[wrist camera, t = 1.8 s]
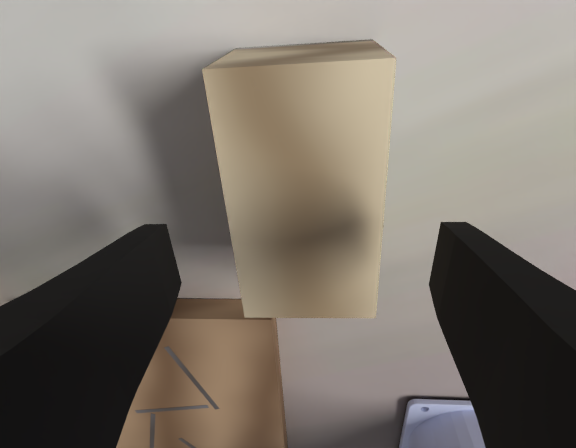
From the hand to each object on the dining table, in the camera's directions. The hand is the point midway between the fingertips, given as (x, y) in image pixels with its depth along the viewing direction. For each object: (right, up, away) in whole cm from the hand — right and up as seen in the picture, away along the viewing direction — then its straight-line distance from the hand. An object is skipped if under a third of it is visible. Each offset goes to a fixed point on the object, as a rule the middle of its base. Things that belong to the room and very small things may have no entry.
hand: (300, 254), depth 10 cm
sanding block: (0, +4, +6) cm, 7 cm away
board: (-8, -12, +16) cm, 21 cm away
